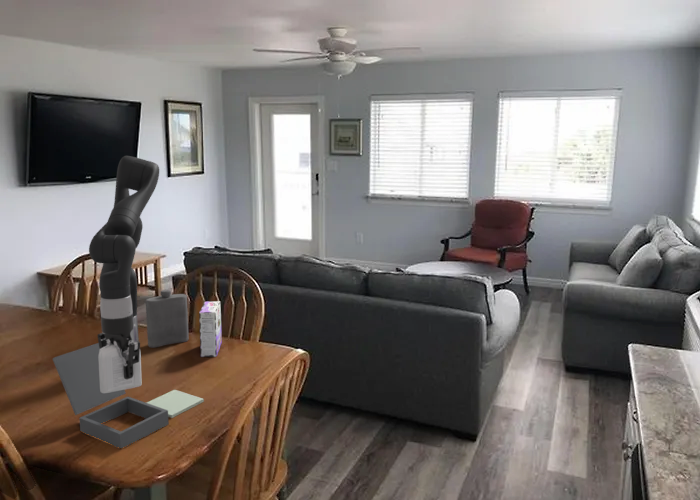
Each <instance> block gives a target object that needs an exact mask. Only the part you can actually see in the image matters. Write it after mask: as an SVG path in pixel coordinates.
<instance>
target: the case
mask: <svg viewBox="0 0 700 500" xmlns="http://www.w3.org/2000/svg"><path fill="white" fill-rule="evenodd" d="M126 413H130V414H132V415H135V416H138V417H140V416H141V418H143V417H144V418H143V419H144V420H141V421H139V422H137V423H135V424H134V425H130V426H129V427H127V428H125V429H123V430H122V431H121V430H118V429H115V428H113V427H110V426H108V425H106V424H104V423H103V422H106V421H108V420H110V421H112V420H114V419H116V418H118V417H120V416H122V415H125V414H126ZM111 419H112V420H111ZM78 420H79V429H80V431H82V432H84V433H86V434H89V435H91V436H94V437H96V438H99V439H101V440H103V441H106V442H108V443H110V444H112V445H114V446H113V447H115V446H116V447H115V448H117V447H119V448H123V447H125V446H126V447H128V446H130V445H132V444H134V443H136V442H138V441H139V439H140V440H141V438H142V439H143V437H144V438H145V437H147V436H149V435H151V434H153V433H155V432H156V430H157V431H159V430H161V429H162V427H163V428H164V427H166V426H168V425H169V417H168V410H165V409H162V408H160V407H157V406H154V405H151V404H148V403H147V402H144V401H142V400H139V399H137V398H133V397H131V396H125V397H124V398H120V399H119V400H116V401H115V402H112V403H110V404H108V405H105V406H102V407H101V408H99V409H96V410H94V411H92V412H89V413H87V414H85V415H82V416H81V417H79V419H78ZM108 422H109V421H108ZM101 423H103V424H101ZM106 423H107V422H106ZM160 428H161V429H160ZM158 429H159V430H158ZM154 431H155V432H154ZM152 432H153V433H152ZM84 433H83V434H84ZM150 433H151V434H150ZM86 434H85V435H86ZM89 435H88V436H89ZM91 436H90V437H91ZM96 438H95V439H96ZM137 440H138V441H137ZM103 441H102V442H103ZM135 441H136V442H135ZM133 442H134V443H133ZM131 443H132V444H131ZM110 444H109V445H110ZM129 444H130V445H129ZM112 445H111V446H112ZM127 445H128V446H127ZM126 447H125V448H126ZM119 448H118V449H119ZM123 449H124V448H123Z"/></svg>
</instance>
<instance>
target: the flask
mask: <svg viewBox="0 0 700 500" xmlns="http://www.w3.org/2000/svg"><path fill="white" fill-rule="evenodd" d="M188 315H189V314H188V295H187V294H185V293H175V294H174V293H173V294H172V293H171V290H170V289H162V290H161V291H160V296H153V297H149V298H146V299H145V316H146V333H147V347H149V348H152V349H153V348H154V349H155V348H159V347H164V346H167V345H172V344H173V345H174V344H180V343H185V342H188V341H189V339H190V338H189V316H188Z"/></svg>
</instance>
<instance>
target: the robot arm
mask: <svg viewBox="0 0 700 500" xmlns="http://www.w3.org/2000/svg"><path fill="white" fill-rule="evenodd" d="M159 176H160V166H159V164H157V163H155V162H153V161H151V160H147V159H143V158H139V157H135V156H132V155H131V156H130V155H124V156H122V157H121V158H120V160H119V162H118V166H117V170H116V178H115V191H114V202H113V203H114V204H113V208H112V210H111V211H110V214H109V217H108V219H107V222H105V224H104V225H103V226H102V227H101V228H100V229H99V230H98V231H97V232H96V233H95V235H94V236H92V238H91V240H90V244H89V245H88V253H89V256H90V258H91V259H92V261H93V262H95V263H97V264H102V267H101V270H100V275H99V281H98V282H99V283H98V284H99V286H98V287H99V291H100V304H99V305H100V306H99V308H100V323H101V325H100V326H101V332H100V333H98V334H97V341H98V343H99V348H100V349H101V348H103V347H104V346H107V345H111V344H113V345H114V346H115V348H116V349H117V352H118V355H119V357H120V358H122V361H123V364H124V378H125V379H130V378H132V377H133V374H134V373H133V364H135V363H138V362H139V354H140V353H141V342H140V339H139V326H138V325H139V324H138V280H137V279H138V278H137V274H136V272H135V270H134V268H133V262H134V259H135V256H136V249H137V248H138V246H139V245H140V242H141V238H142V237H141V236H142V231H143V228H144V227H143V222H142V218H141V216H142V213H143V211H144V209H145V208H146V206H147V204H148V202H149V201H150V199H151V197H152V195H153V194H154V192H155V190H156V187H157V185H158V182H159ZM130 190H131V191H132V190H133V191H135V192H134V193H132V194H131V195H130ZM127 349H129V352H127V353H123V352H124V351H126V350H127ZM127 355H128V360H127V359H126V356H127ZM134 356H135V358H133V357H134Z"/></svg>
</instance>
